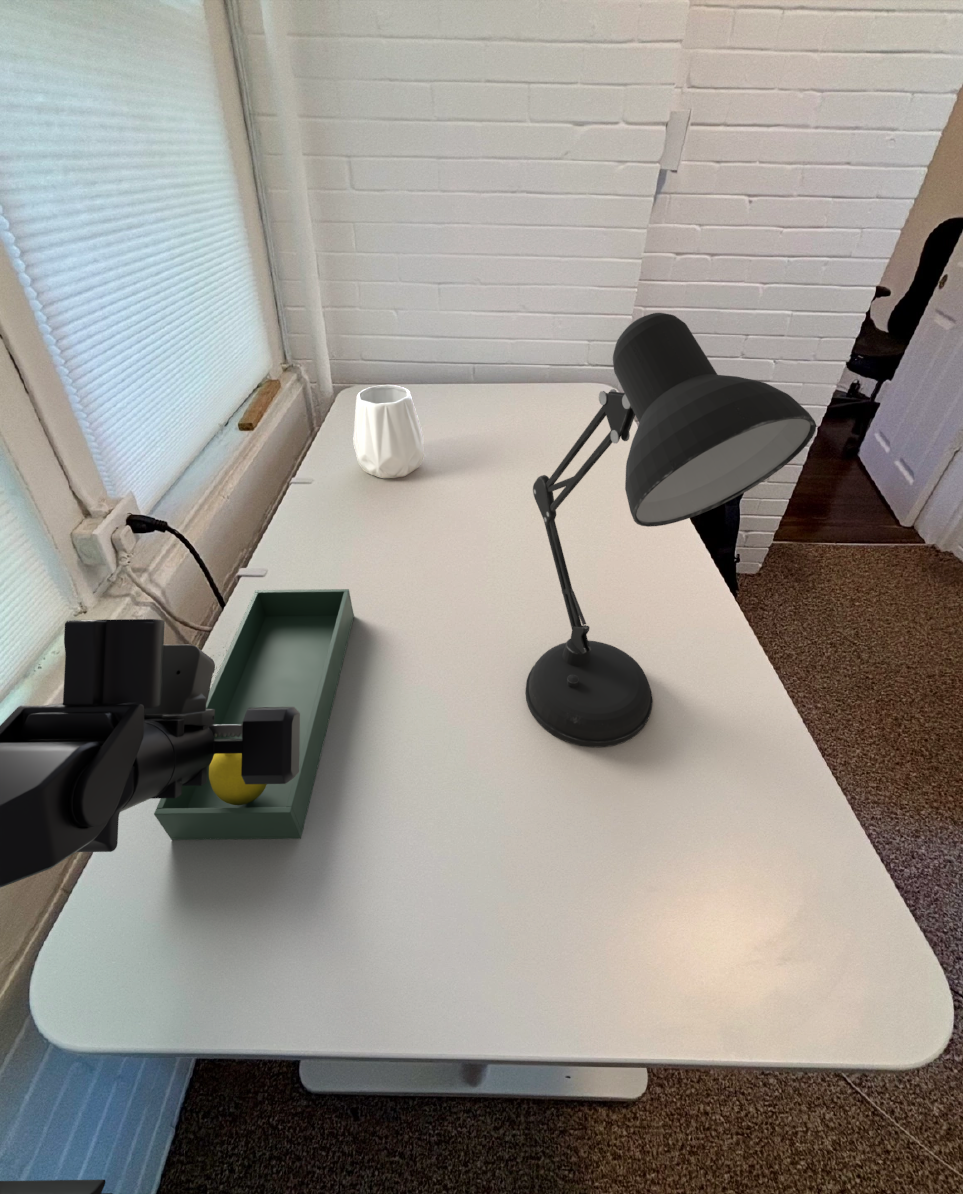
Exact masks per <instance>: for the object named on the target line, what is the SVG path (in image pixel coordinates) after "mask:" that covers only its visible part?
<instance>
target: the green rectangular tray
mask: <svg viewBox="0 0 963 1194" xmlns="http://www.w3.org/2000/svg"><path fill="white" fill-rule="evenodd" d="M350 592H351V591H350V589H349V588H325V589H324V588H321V589H319V588H316V589H315V588H314V589H255V590H254V592H253V595H252V597H251V599H250V601H249V603H248V605H247V608H246V610H245V612H244V614H243V616H242V619H241V620H240V623H239V625H238V627H237V630H236V632H235V634H234V636H233V638H232V640H231V643H230V645H229V647H228V649H227V652H226V654H225V656H224V658H223V661H222V662H221V665H220V667H219V669H218V671H217V674H216V676H215V678H214V681H212V685H211V686H210V690H209V696H208V700H207V703H206V709H215V723H214V725H228V724H242V723H243V719H244V717H245V714H246V711H247V709H248V708H258V707H295V708H296V709H297V710H298V712H299V713H300V746H299V773H298V774H297V775H296V776H295V777H294V778H293V779H292V780H290V781H289V782H288V783H286V784H267V785H266V787H265V789H264V791H263V792H262V794H261V795H260V796H259V797H258V798H256V799H255V800H253V801H252V802H250V803H247V804H243V805H232V804H228V803H226V802H224V801H222V800H221V799H220V798H219V797H218V796H217V795H216V794H215V792H214V791H213V789H212V786H211V783H210V780H209V766H207V783H205V784H203V785H201V786H182V795H181V796H179V797H177V798H159V801H158V804H157V806H156V809H155V811H154V812H153V816H155V818H156V820H157V821H158V823H159V824H160V826H161V827H162V828H163V830H164V831H165V833H166V834H167V836H168V837H169V838H170V840H171V841H193V840H194V841H195V840H196V841H197V840H198V841H203V840H204V841H206V840H289V839H290V840H291V839H293V840H294V839H295V840H297V839H299V840H300V839H302V835H303V832H304V827H305V823H306V819H307V815H308V810H309V806H310V802H311V798H312V793H313V790H314V785H315V781H316V776H317V773H318V768H319V765H320V764H319V763H320V760H321V756H322V752H323V747H324V743H325V739H326V735H327V730H328V726H329V722H330V717H331V713H332V710H333V705H334V701H335V696H336V693H337V689H338V685H339V680H340V677H341V676H340V675H341V672H342V668H343V664H344V659H345V655H346V651H347V647H348V642H349V638H350V634H351V630H352V625H353V621H354V617H355V613H354V608H353V604H352V603H353V602H352V598H351V593H350ZM214 739H242V736H241V734H240V736H239V737H237V735H235V737H232V734H231V736H230V737H228V736H227V735H226V737H223V735H222V736H221V737H218V734H217V737H214Z"/></svg>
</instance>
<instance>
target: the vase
mask: <svg viewBox="0 0 963 1194" xmlns="http://www.w3.org/2000/svg"><path fill="white" fill-rule="evenodd" d="M355 396H356V397H355V408H354V409H355V411H354V423H353V436H352V437H353V439H352V444H353V448H354V452H355V456H356V459H357V464H358V465H359V467H360V468H361V470H363V471H364V472H365V473H367V474H369V475H372V476H375V477H377V478H380V479H394V478H396V479H397V478H404V477H406V476H408V475H410V474H411V473H412V472H414V471H416V470H417V469H418V468H420V467H421V465H422V463H423V461H424V458H425V437H424V432H423V428H422V425H421V422H420V419H419V416H418V413H417V409H416V406H415V403H414V400H413V397H412V394H411V391H410V390H409V389H408V388H405V387H403V386H399V385H395V384H382V385H381V384H379V385H373V386H370V387H366V388H365V389H362V390H361V391H358V393H357V394H356V395H355Z"/></svg>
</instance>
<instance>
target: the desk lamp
mask: <svg viewBox="0 0 963 1194" xmlns="http://www.w3.org/2000/svg"><path fill="white" fill-rule="evenodd" d="M612 364H613V372H614V375H615V377H616V378H617V381H618V382H619V385H620V386H621V387H620V388H621V389H622V391H623V392H621V391H620V392H619V391H617V390H616V389H615V388H614V389H610V390H609V392H606V391H605V390H601V391H600V392H599V393H598V401H599V404H600V405H601V407H600V409H599V410H598V411H597V413H596V414H595V416H593V418H592V419H591V421H590V422H589V423H588V425H587V426H586V427H585V430H584V431H583V432H582V433H581V435H580V436H579V437H578V439H577V440H576V442H575V443H574V444H573V446H572V447H571V449H569V451H568V452H567V454H566V455H565V457H564V458H563V459H562V461H561V462H560V464H558V466H557V468H556V469H555V470H554V472H553V473H552V475H551V476H548V475H545V474H543V475H540V476H538V477H537V478H536V480H535V481H534V483H533V485H532V495H533V497H534V500H535V503H536V505H537V506H538V510H539V512H540V515H541V517H542V520H543V523H544V527H545V531H546V534H547V539H548V542H549V546H550V550H551V554H552V557H553V561H554V565H555V570H556V573H557V577H558V581H559V585H560V589H561V593H562V597H563V600H564V604H565V608H566V612H567V616H568V620H569V624H570V627H571V634H570V638H569V639H568V640H567V641H566V642H562V643H559V644H557V645H555V646H552V647H551V648H549V649H548V650H547V651H545V652H544V653H543V654H542V655H541V656H540V657H539V658H538V659H537V661H536V662H535V664H534V665H533V666H532V668H531V669H530V671H529V673H528V676H527V678H526V682H525V701H526V704H527V708H528V710H529V712H530V714H531V715H532V717H533V718H534V719H535V721H536V722H537V723H538V724H539V726H541V727H542V728H543V729H544V730H545V731H547V732H548V733H549V734H551V735H552V736H554V737H556V738H558V739H560V740H561V741H564V742H567V743H569V744H571V745H575V746H580V747H586V748H606V747H607V748H608V747H611V746H612V747H613V746H617V745H620V744H624V743H625V742H627V741H630V740H631V739H633V738H634V737H636V736H637V735H639V733H640V732H641V731H643V729H644V728H645V726H646V725H647V723H648V721H649V719H650V717H651V713H652V709H653V700H654V699H653V692H652V688H651V686H650V682H649V679H648V677H647V675H646V674H645V671H644V670H643V668H642V666H641V665H640V664H639V663H638V662H637V661H636V660H635V659H634V658H633V657H632V656H631V655H629V654H628V653H627V652H625V651H623V650H622V649H620V648H618V647H615V646H613V645H611V644H608V643H605V642H601V641H596V640H589V639H588V636H587V634H588V633H589V632H590V626H589V625H587V622H586V619H585V617H584V615H583V614H584V613H583V611H582V609H581V606H580V604H579V602H578V599H577V596H576V593H575V591H574V590H573V586H572V583H571V579H570V574H569V571H568V567H567V563H566V560H565V554H564V551H563V547H562V543H561V540H560V535H559V532H558V528H557V525H556V521H555V520H556V518H557V509H558V508H559V507H560V506H561V504H562V503H563V502H564V501H565V499H567V497H568V496H570V493H572V491H573V490H574V489H575V488H576V487H577V485H578V484H579V483H580V482H581V481H582V479H584V477H585V476H586V475H587V473H589V471H590V470H591V469H592V467H593V466H594V465H595V464H596V463H597V461H599V459H600V458H601V457H602V456H603V454H604V453H605V452H606V451H607V450H608V449H609V448H610V446H611V445H612V444H618V443H619V442H620V440H621V441H623V442H628V441H629V440H630V430H631V428H632V426H633V423H634V420H635V417H636V419H637V422H638V426H637V429H636V431H635V434H634V435H633V439H632V441H631V445H630V448H629V452H628V456H627V460H626V464H625V481H624V482H625V484H624V485H625V486H624V489H625V494H626V498H627V503H628V507H629V512H630V515H631V516H632V519H633V521H634V523H636V524H637V525H638V526H641V527H648V528H649V527H651V528H652V527H661V526H667V525H671V524H674V523H678V522H681V521H685V520H689V519H691V518H694V517H696V516H698V515H701V514H703V513H706V512H708V511H711V510H712V509H716V508H717V507H720V506H721V505H724V504H726V503H728V502H730V501H732V500H734V499H736V498H737V497H740V496H741V495H743V494H744V493H746V492H748V491H750V490H752V489H753V488H755V487H757V486H758V485H759V484H761V483H762V482H763V483H764V481H766V480H767V479H769V478H770V477H771V476H773V475H774V474H776V473H777V472H778V471H779V470H782V468H784V467H785V466H786V465H788V464H789V463H790V462H791V461H793V459H795V458H796V457H797V456H798V455H799V454H800V453H801V452H802V451H803V450H804V449H805V448H806V446H808V444H809V442H810V441H811V440H812V439H813V437H814V435H815V433H816V429H817V423H816V420H815V419H814V418H813V416H812V415H811V413H809V411H807V410H806V409H805V407H803V406H802V405H801V404H800V403H799V402H798V401H797V400H796V399H795V398H794V397H792V396H791V395H790V394H788V393H786V392H785V391H783V390H781V389H778V388H777V387H775V386H772V385H770V384H768V383H767V382H765V381H764V382H763V381H760V380H755V379H751V378H747V377H741V376H736V375H724V374H718V372H717V371H716V369H715V368H714V366H713V365H712V362H710V360H709V358H708V357H707V355H706V354H705V352H704V350H703V349H702V347H701V346H700V344H699V342H698V341H697V339H696V338H695V336H694V334H693V332H692V331H691V330H690V328H689V326H688V325H687V324H686V323H685V322H684V321H683V320H682V319H680V318H679V317H677V316H676V315H675V314H672V313H671V314H669V313H664V312H653V313H650V314H647V315H644V316H640V317H639V318H638V319H636V320H634V321H633V322H631V323H630V324H629V325H628V326H627V327H626V328H625V329H624V330H623V332H621V334H620V335H619V337H618V339H617V340H616V343H615V346H614V350H613V354H612ZM605 418H606V420H607V422H608V426H609V429H610V431H608V434H607V435H606V436H605V437H604V438H603V440H602V441H601V442H600V443H599V445H598V446H597V447H596V449H594V450H593V452H592V453H591V455H590V456H589V457H588V458H587V460H586V461H585V462H584V463H583V464H582V465H581V467H580V468H579V469H578V471H577V472H576V473H575V474H574V475H573V476H571V477H569V478H566V479H564V480H561V481H558V480H559V478H560V477H561V476H562V474H563V473H564V472H565V470H566V469H567V468H568V466H569V465H570V464H571V462H572V461H573V460H574V458H575V457H576V456H577V455H578V454H579V452H580V451H581V449H582V448H583V447H584V445H585V444H586V443H587V441H588V440H589V439H590V438H591V436H592V435H593V434H594V432H595V431H596V430H597V428H598V427H599V426H600V425H601V423H602V422H603V420H604V419H605ZM557 481H558V482H557ZM559 489H562V490H561V492H559V494H558V495H557V496H556V497H555V496H554V492H555V491H557V490H559ZM554 497H555V498H554Z"/></svg>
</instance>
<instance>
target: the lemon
mask: <svg viewBox="0 0 963 1194" xmlns="http://www.w3.org/2000/svg"><path fill="white" fill-rule="evenodd" d="M241 767H242V753H230V754H214V756H213V759H212V762H211V763H210V765H209V780H210V783H211V786H212V789H213V791H214V792H215V794H216V795H217V796H218V797H219V798H220V799H221V800H222V801H224V802H226V803H228V804H232V805H243V804H247V803H250V802H252V801H253V800H255V799H256V798H258V797H259V796H260V795H261V794H262V792H263V791H264V789H265V787H266V785H267V784H245V782H244V780H243V778H242V776H241Z"/></svg>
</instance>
